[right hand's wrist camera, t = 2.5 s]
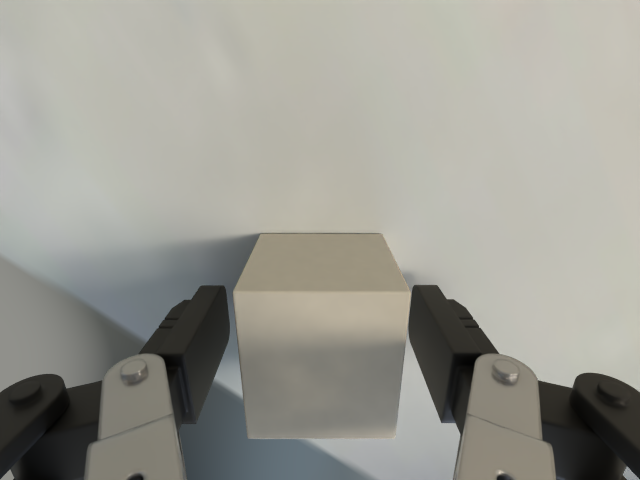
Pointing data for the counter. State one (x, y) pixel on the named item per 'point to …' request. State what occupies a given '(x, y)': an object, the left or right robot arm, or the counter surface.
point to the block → (321, 336)
